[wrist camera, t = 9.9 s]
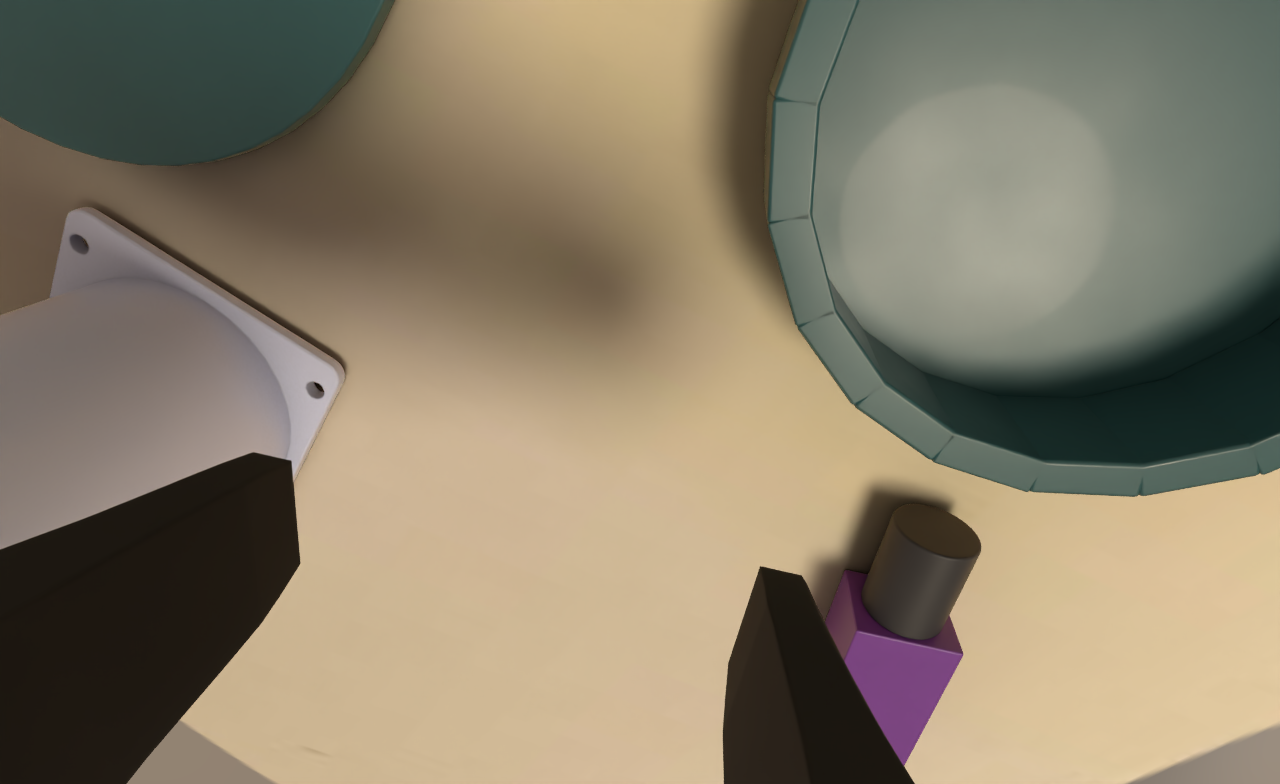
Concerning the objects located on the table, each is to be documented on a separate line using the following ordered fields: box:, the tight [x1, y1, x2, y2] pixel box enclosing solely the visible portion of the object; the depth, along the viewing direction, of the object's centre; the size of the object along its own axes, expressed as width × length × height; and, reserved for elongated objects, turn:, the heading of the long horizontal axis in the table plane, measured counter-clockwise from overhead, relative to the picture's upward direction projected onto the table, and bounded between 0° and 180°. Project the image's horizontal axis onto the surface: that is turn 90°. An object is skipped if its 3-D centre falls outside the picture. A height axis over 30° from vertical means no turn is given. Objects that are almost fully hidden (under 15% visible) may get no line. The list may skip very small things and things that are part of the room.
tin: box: [763, 0, 1280, 497], centre depth 12 cm, size 13×13×4 cm
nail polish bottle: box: [825, 504, 981, 766], centre depth 19 cm, size 10×3×2 cm, turn 171°
